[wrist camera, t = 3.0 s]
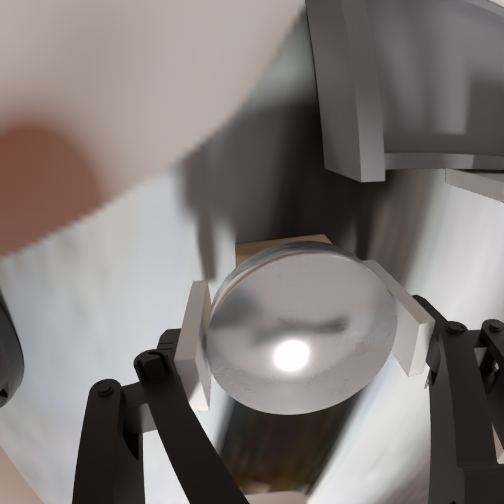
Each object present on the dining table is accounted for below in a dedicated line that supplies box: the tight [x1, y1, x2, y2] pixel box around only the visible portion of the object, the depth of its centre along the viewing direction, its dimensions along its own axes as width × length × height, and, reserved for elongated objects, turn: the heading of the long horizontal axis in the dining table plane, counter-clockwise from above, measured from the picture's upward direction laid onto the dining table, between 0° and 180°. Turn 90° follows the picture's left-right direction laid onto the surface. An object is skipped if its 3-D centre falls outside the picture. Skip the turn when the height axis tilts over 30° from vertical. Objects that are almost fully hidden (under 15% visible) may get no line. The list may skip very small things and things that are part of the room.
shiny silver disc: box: [206, 241, 397, 414], centre depth 13 cm, size 8×8×2 cm
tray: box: [305, 0, 504, 182], centre depth 12 cm, size 17×11×5 cm
